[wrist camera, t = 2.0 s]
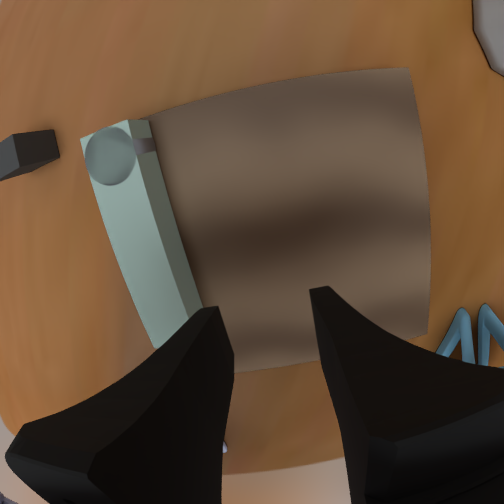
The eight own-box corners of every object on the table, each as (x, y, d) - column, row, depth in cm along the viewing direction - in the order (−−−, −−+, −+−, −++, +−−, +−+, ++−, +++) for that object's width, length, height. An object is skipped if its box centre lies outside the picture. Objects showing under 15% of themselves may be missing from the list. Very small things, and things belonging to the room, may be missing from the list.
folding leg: (104, 135, 14) (79, 138, 12) (148, 118, 14) (127, 118, 12) (165, 322, 18) (153, 348, 16) (207, 316, 18) (199, 343, 15)
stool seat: (413, 314, 20) (427, 333, 18) (196, 354, 22) (189, 377, 20) (391, 74, 15) (408, 67, 13) (122, 131, 17) (102, 133, 15)
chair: (505, 298, 20) (589, 386, 9) (479, 374, 23) (534, 464, 12) (434, 311, 20) (516, 429, 9) (412, 390, 23) (457, 502, 12)
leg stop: (60, 157, 17) (19, 167, 14) (30, 171, 18) (-9, 184, 14) (53, 129, 17) (12, 134, 13) (24, 145, 17) (-16, 153, 13)
